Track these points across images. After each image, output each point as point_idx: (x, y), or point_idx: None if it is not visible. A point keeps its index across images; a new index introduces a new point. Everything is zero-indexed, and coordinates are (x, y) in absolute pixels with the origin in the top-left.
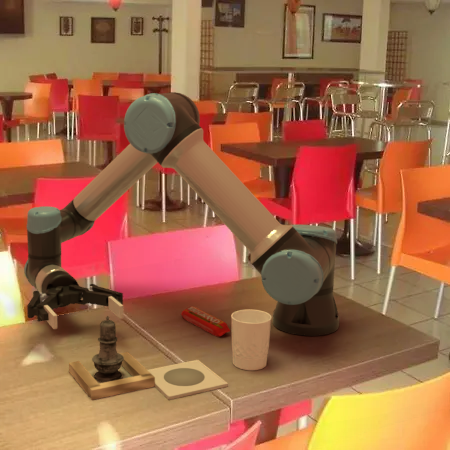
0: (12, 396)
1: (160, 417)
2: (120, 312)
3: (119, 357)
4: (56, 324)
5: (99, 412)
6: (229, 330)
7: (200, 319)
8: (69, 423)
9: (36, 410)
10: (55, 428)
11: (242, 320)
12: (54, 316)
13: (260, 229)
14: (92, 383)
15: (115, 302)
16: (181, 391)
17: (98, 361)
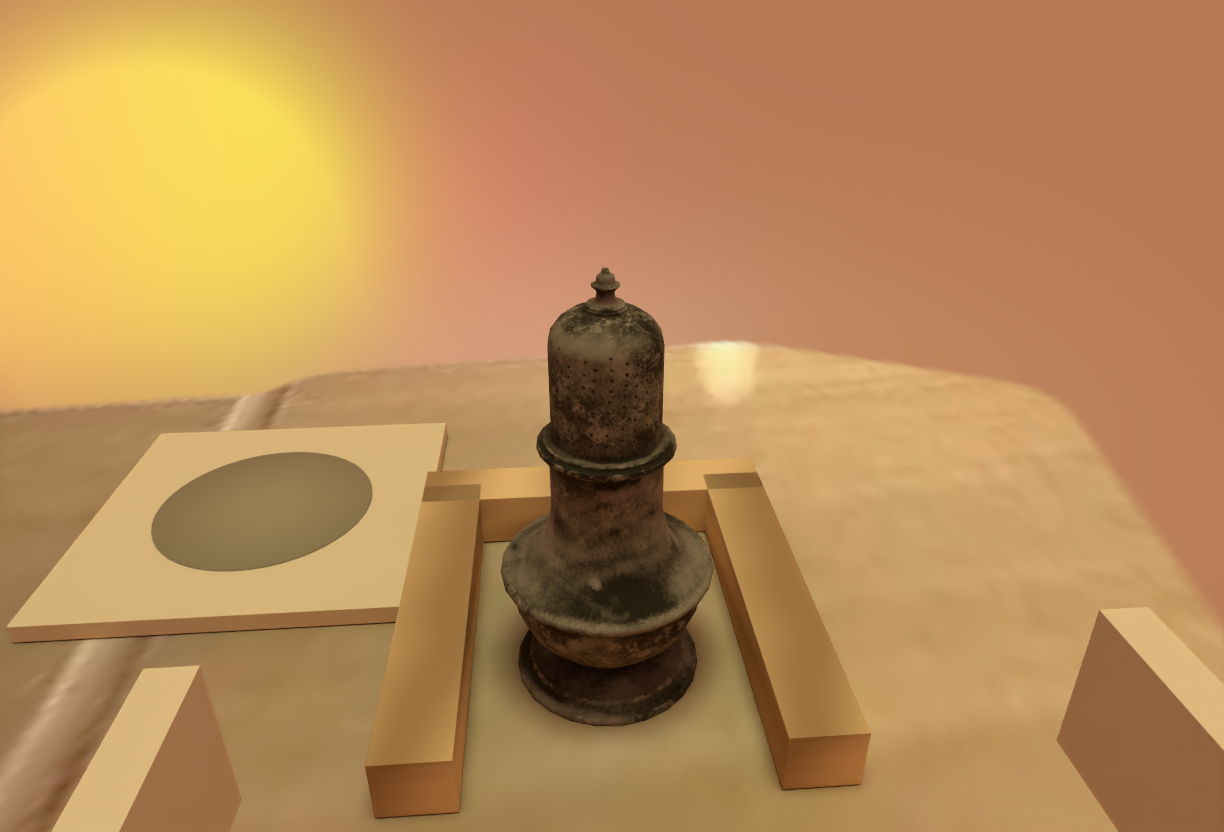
0: (1170, 613)
1: (537, 382)
2: (213, 735)
3: (542, 525)
4: (1079, 699)
5: (731, 437)
6: None
7: None
8: (848, 417)
9: (994, 496)
10: (896, 410)
11: None
12: (1130, 612)
13: None
14: (738, 496)
15: (122, 821)
16: (375, 434)
17: (681, 531)
